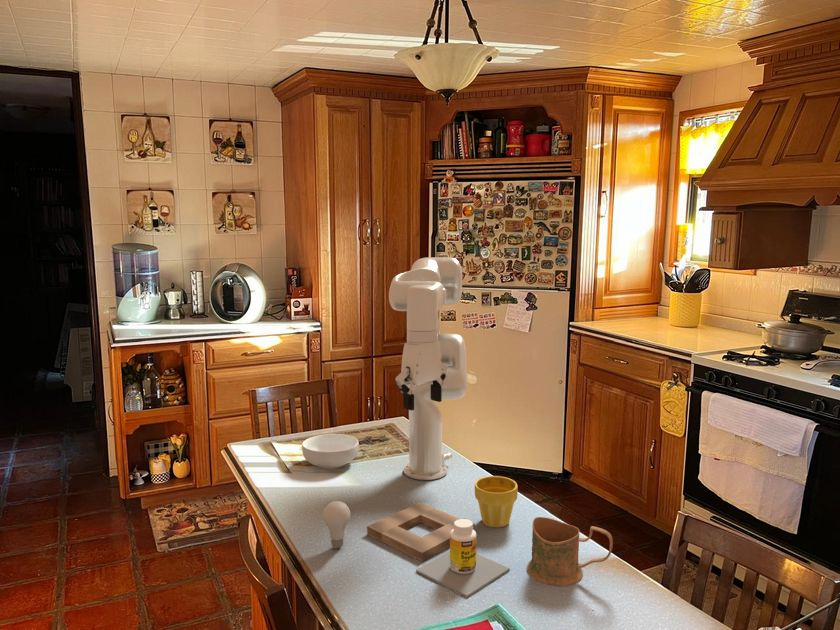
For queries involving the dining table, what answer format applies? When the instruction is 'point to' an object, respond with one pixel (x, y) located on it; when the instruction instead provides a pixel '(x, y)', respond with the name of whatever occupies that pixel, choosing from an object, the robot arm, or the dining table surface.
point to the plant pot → (496, 499)
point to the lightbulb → (336, 521)
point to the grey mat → (463, 582)
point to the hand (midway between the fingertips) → (422, 404)
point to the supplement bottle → (463, 547)
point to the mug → (558, 552)
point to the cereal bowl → (330, 450)
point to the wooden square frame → (410, 543)
